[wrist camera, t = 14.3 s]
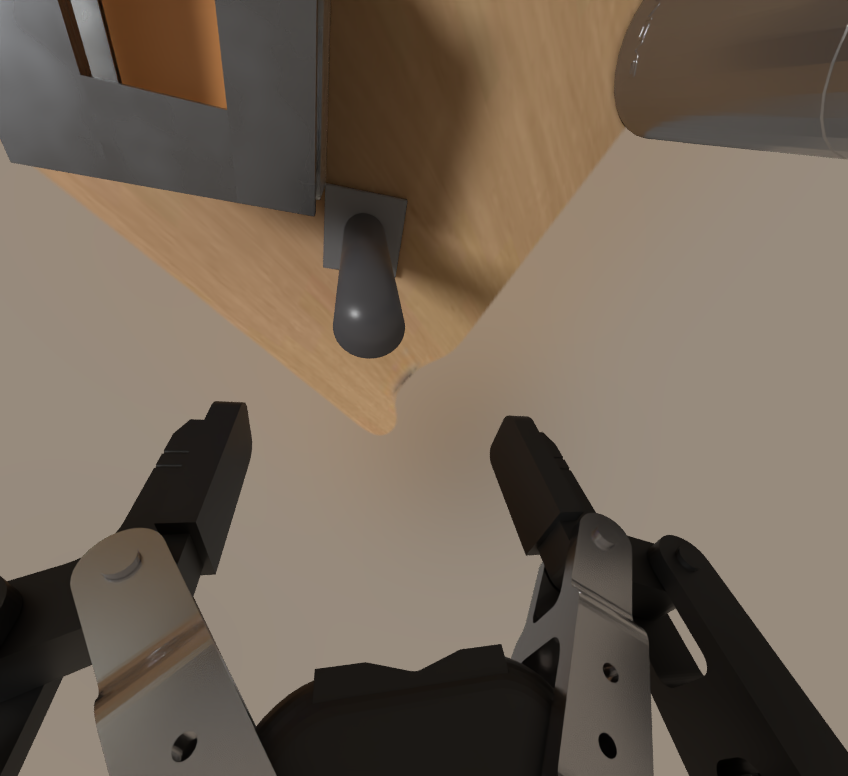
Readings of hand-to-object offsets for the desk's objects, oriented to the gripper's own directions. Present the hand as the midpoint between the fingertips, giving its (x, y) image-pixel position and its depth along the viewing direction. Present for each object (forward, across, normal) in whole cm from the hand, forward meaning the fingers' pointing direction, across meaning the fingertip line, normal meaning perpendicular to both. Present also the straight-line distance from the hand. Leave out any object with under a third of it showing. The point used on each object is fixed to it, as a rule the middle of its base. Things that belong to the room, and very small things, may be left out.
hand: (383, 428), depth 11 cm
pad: (+22, 0, 0) cm, 22 cm away
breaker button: (+20, +9, -9) cm, 24 cm away
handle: (+21, 0, 0) cm, 21 cm away
